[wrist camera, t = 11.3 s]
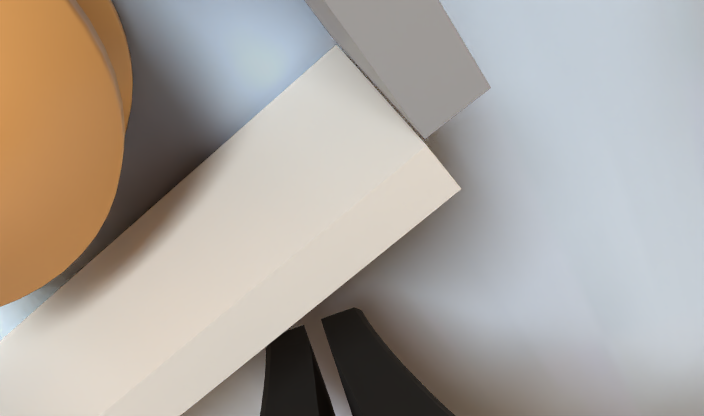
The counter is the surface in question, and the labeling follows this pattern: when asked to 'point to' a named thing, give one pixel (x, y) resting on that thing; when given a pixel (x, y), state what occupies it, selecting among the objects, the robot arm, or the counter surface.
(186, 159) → the counter surface
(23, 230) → the door knob
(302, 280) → the cover
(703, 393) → the counter surface
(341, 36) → the open grey tray
